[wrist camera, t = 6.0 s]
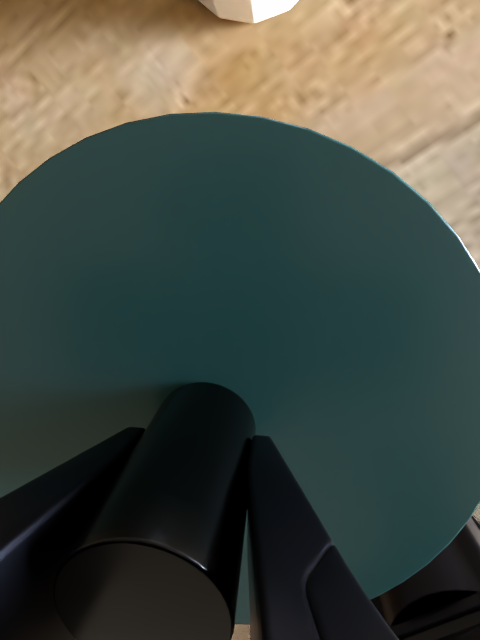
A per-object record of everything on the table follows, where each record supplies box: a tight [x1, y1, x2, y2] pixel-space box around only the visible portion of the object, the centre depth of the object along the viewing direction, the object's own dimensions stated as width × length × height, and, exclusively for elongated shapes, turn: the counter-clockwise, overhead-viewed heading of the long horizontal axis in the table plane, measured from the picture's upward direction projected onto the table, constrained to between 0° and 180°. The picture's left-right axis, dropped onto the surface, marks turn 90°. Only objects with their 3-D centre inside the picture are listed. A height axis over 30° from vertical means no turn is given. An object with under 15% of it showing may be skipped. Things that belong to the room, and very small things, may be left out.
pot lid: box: [0, 112, 480, 640], centre depth 7 cm, size 15×15×6 cm
